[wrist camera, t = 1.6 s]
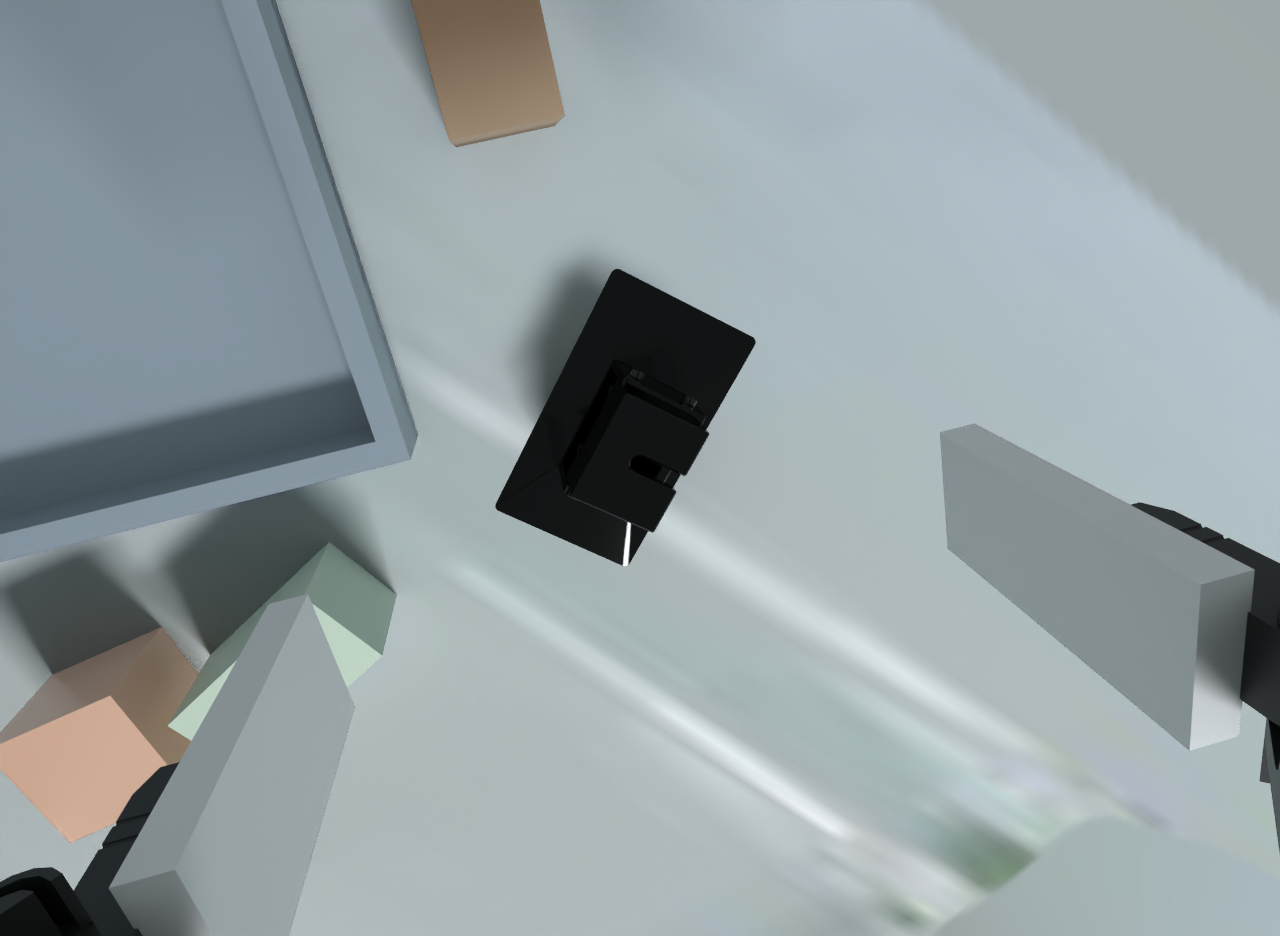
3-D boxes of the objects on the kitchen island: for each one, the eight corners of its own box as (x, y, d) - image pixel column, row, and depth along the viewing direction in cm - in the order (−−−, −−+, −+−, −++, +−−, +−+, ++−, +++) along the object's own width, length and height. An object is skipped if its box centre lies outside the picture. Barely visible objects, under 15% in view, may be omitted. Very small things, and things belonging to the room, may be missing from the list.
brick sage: (281, 701, 29) (249, 777, 25) (211, 653, 28) (167, 725, 24) (396, 593, 28) (382, 655, 24) (329, 540, 27) (303, 596, 23)
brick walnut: (553, 126, 24) (564, 115, 20) (456, 147, 24) (449, 140, 20) (501, -107, 22) (502, -167, 18) (393, -87, 21) (372, -143, 18)
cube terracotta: (125, 757, 28) (69, 842, 25) (53, 672, 27) (-17, 751, 23) (228, 711, 29) (188, 790, 25) (162, 625, 27) (110, 695, 23)
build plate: (623, 599, 30) (643, 669, 26) (445, 528, 28) (435, 591, 24) (789, 310, 28) (843, 335, 23) (605, 206, 25) (626, 212, 21)
